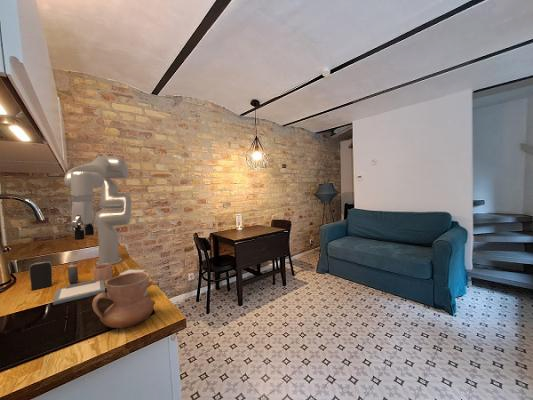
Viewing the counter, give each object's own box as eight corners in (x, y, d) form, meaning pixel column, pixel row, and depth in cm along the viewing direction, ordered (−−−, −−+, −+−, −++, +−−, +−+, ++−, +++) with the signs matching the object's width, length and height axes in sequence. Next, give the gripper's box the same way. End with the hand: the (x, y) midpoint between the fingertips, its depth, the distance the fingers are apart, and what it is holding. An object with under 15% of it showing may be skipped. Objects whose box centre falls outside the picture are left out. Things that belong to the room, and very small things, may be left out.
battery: (53, 283, 104) (51, 259, 104) (52, 286, 101) (51, 261, 101) (31, 288, 100) (29, 263, 99) (30, 291, 97) (28, 265, 96)
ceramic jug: (153, 303, 85) (152, 266, 84) (162, 321, 73) (160, 278, 73) (94, 320, 74) (92, 278, 74) (93, 344, 63) (90, 294, 62)
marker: (69, 283, 104) (67, 262, 103) (78, 281, 106) (77, 261, 105) (68, 286, 101) (67, 264, 100) (78, 284, 103) (77, 263, 103)
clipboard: (57, 291, 96) (57, 287, 96) (103, 281, 105) (103, 278, 105) (53, 305, 85) (52, 300, 84) (105, 292, 94) (104, 288, 94)
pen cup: (94, 278, 110) (93, 266, 110) (111, 274, 114) (110, 263, 114) (94, 282, 104) (93, 270, 104) (112, 279, 109) (111, 266, 108)
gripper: (81, 198, 107) (83, 234, 107) (61, 200, 90) (64, 242, 91) (100, 198, 109) (102, 233, 110) (84, 199, 93) (86, 240, 93)
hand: (84, 237), depth 100 cm, fingers open, 9 cm apart
